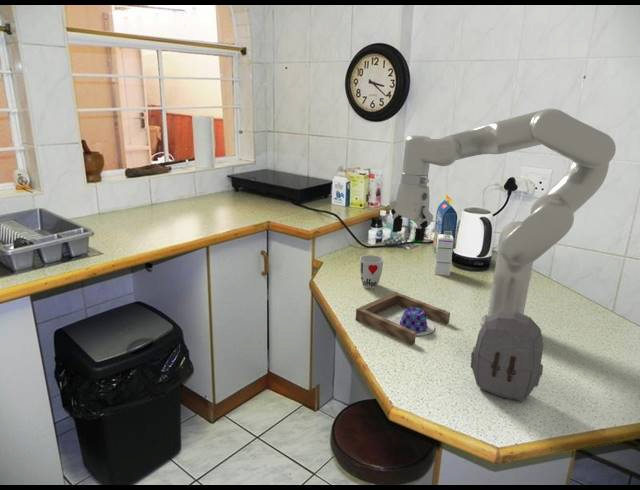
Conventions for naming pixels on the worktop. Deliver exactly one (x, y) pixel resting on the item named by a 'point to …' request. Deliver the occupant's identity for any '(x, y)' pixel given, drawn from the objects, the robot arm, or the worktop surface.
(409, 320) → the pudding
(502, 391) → the small grey backpack
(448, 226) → the blue food package
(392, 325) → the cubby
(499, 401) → the worktop surface
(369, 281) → the cup
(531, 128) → the robot arm
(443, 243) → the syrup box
